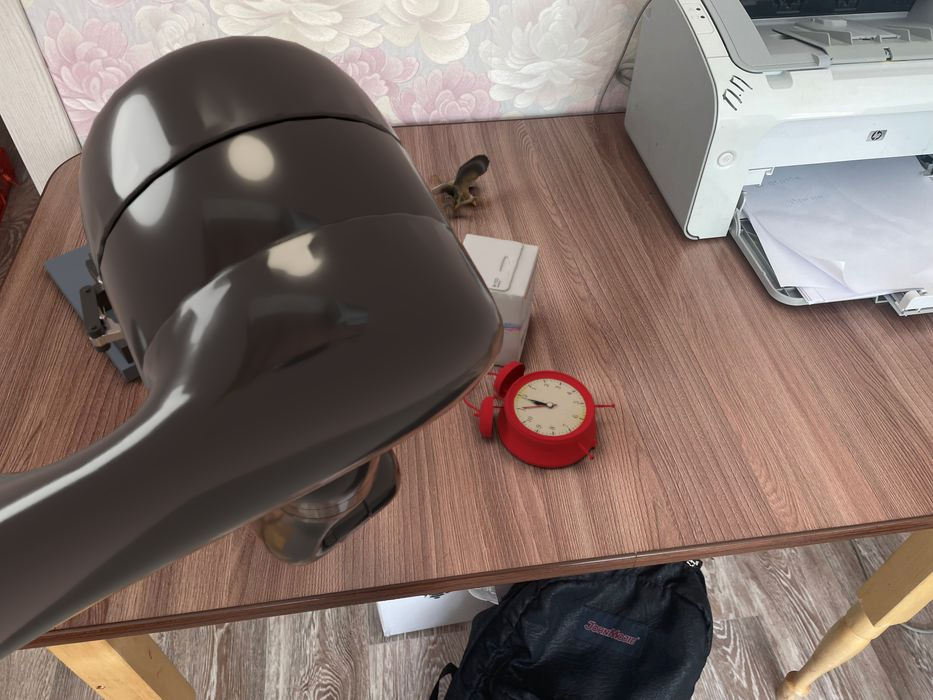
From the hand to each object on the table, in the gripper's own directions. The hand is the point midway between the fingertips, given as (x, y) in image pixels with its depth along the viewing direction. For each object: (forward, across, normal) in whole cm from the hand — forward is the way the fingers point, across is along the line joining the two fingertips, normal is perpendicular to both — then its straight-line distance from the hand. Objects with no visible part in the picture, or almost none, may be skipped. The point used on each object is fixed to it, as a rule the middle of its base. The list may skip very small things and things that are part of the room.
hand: (122, 248), depth 65 cm
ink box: (-18, -30, +18) cm, 40 cm away
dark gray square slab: (+14, -7, +18) cm, 24 cm away
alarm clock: (-30, -26, +18) cm, 43 cm away
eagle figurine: (+4, -45, +18) cm, 49 cm away
